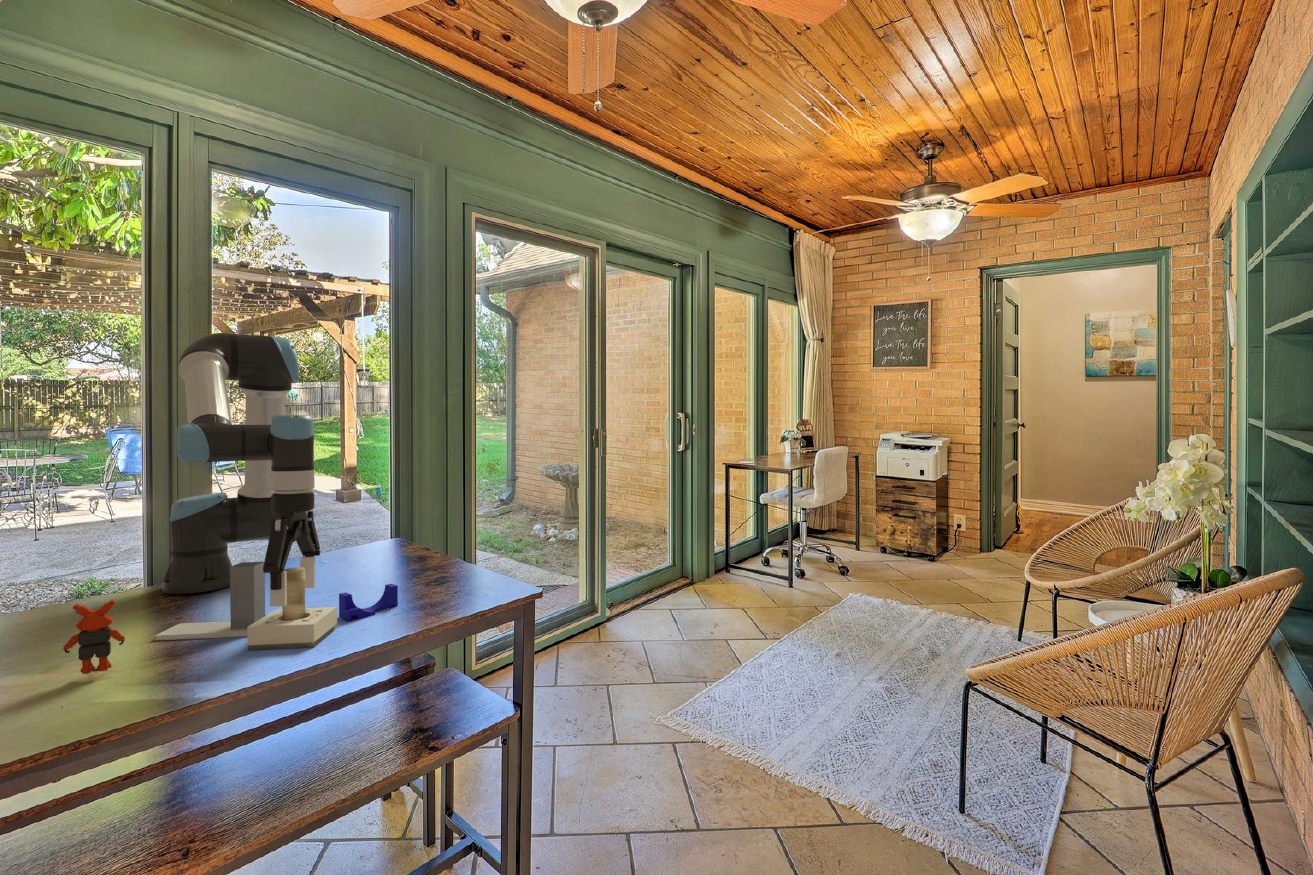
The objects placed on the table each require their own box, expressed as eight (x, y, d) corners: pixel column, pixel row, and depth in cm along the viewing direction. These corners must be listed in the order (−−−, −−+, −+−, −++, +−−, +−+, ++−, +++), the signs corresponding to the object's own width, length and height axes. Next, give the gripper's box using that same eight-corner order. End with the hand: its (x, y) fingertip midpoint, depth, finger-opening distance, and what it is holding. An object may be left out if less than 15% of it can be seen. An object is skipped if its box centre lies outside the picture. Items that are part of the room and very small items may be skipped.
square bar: (242, 622, 134) (241, 562, 134) (265, 621, 135) (264, 561, 135) (230, 629, 130) (229, 566, 130) (254, 628, 130) (253, 566, 130)
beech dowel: (288, 630, 129) (287, 567, 129) (308, 630, 129) (308, 567, 129) (279, 637, 125) (278, 572, 125) (300, 636, 125) (299, 571, 125)
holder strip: (179, 628, 134) (179, 623, 134) (280, 623, 137) (280, 619, 137) (155, 640, 126) (155, 635, 126) (262, 635, 129) (262, 630, 129)
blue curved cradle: (348, 624, 137) (347, 597, 137) (339, 620, 140) (338, 593, 140) (400, 612, 146) (400, 586, 146) (391, 608, 149) (391, 583, 149)
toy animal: (127, 659, 116) (126, 594, 116) (124, 668, 111) (123, 600, 111) (68, 668, 111) (67, 601, 111) (62, 678, 107) (61, 608, 107)
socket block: (276, 630, 132) (276, 609, 132) (337, 628, 134) (336, 606, 134) (247, 650, 120) (247, 626, 120) (314, 647, 122) (313, 624, 122)
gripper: (299, 485, 139) (300, 581, 139) (240, 498, 114) (241, 615, 114) (335, 485, 140) (336, 580, 140) (285, 498, 115) (286, 613, 115)
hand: (294, 596), depth 127 cm, fingers open, 13 cm apart
